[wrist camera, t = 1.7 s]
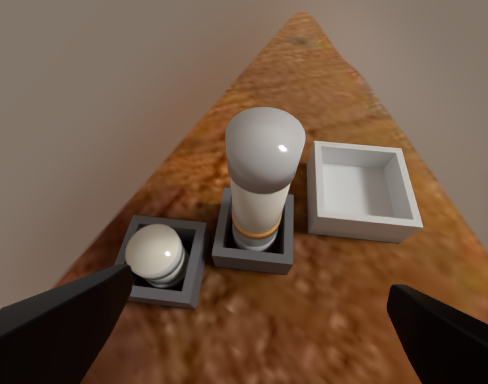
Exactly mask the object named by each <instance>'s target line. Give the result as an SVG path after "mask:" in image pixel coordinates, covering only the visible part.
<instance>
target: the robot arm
mask: <svg viewBox="0 0 488 384" xmlns="http://www.w3.org/2000/svg"><path fill="white" fill-rule="evenodd" d="M131 292H132V269H131V266H130V265H127V264H117V265H114V266H112V267H109V268H106V269H104V270H101V271H98V272H96V273H93V274H91V275H88V276H85V277H83V278H80V279H77V280H75V281H72V282H70V283H67V284H64V285H62V286H59V287H56V288H54V289H51V290H48V291H46V292H43V293H41V294H38V295H35V296H33V297H30V298H28V299H25V300H22V301H20V302H17V303H14V304H12V305H9V306H6V307H4V308H1V310H0V384H80V383H81V381H82V379H83V378H84V376H85V375H86V373H87V371H88V370H89V368H90V367H91V365H92V363H93V362H94V360H95V359H96V357H97V355H98V354H99V352H100V350H101V349H102V347H103V346H104V344H105V342H106V341H107V339H108V338H109V336H110V334H111V332H112V330H113V329H114V327H115V325H116V323H117V321H118V318H119V316H120V314H121V312H122V310H123V308H124V306H125V304H126V302H127V300H128V298H129V296H130V294H131ZM387 312H388V314H389V317H390V319H391V321H392V324H393V326H394V328H395V330H396V333H397V335H398V337H399V339H400V342H401V344H402V346H403V349H404V351H405V353H406V355H407V357H408V359H409V361H410V363H411V365H412V367H413V368H414V370H415V372H416V374H417V376H418V377H419V379H420V381H421V383H422V384H488V324H486V323H484V322H482V321H480V320H478V319H476V318H474V317H472V316H470V315H467V314H465V313H463V312H461V311H459V310H457V309H455V308H453V307H451V306H449V305H447V304H445V303H443V302H440V301H438V300H436V299H434V298H432V297H430V296H428V295H426V294H424V293H422V292H420V291H418V290H416V289H413V288H411V287H409V286H407V285H403V284H393V285H392V286H391V288H390V292H389V297H388V301H387Z"/></svg>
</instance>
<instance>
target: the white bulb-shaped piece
mask: <svg viewBox="0 0 488 384" xmlns="http://www.w3.org/2000/svg"><path fill="white" fill-rule="evenodd" d="M225 139H226V152H227V165H228V172H229V175H230V182H231V196H232V221H233V224H232V229H233V241H234V244H235V246H236V248H237V249H241V250H250V251H259V252H267V253H268V252H269V251H270V250H271V249H272V247H273V245H274V242H275V239H276V236H277V232H278V226H279V224H280V220H281V216H282V211H283V208H284V204H285V201H286V197H287V194H288V191H289V187H290V184H291V182H292V180H293V179H294V176H295V173H296V170H297V167H298V164H299V160H300V157H301V154H302V150H303V147H304V144H305V132H304V129H303V127H302V125H301V124H300V122H299V121H298V120H297V119H296V118H295V117H293V116H292V115H291V114H289V113H287V112H285V111H282V110H279V109H276V108H270V107H256V108H251V109H247V110H244V111H242V112H240V113H239V114H237V115H236V116H234V117H233V118H232V119H231V120H230V122H229V123H228V125H227V128H226V132H225Z"/></svg>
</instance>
